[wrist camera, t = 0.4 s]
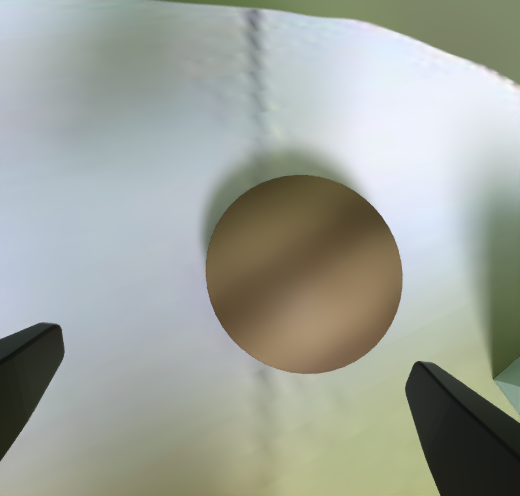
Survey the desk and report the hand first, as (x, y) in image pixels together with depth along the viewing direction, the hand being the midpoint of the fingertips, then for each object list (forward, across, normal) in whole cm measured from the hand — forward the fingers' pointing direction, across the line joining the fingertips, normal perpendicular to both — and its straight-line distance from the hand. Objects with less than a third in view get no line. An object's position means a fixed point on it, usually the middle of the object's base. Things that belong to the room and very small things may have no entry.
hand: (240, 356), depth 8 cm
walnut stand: (+14, -4, +4) cm, 16 cm away
